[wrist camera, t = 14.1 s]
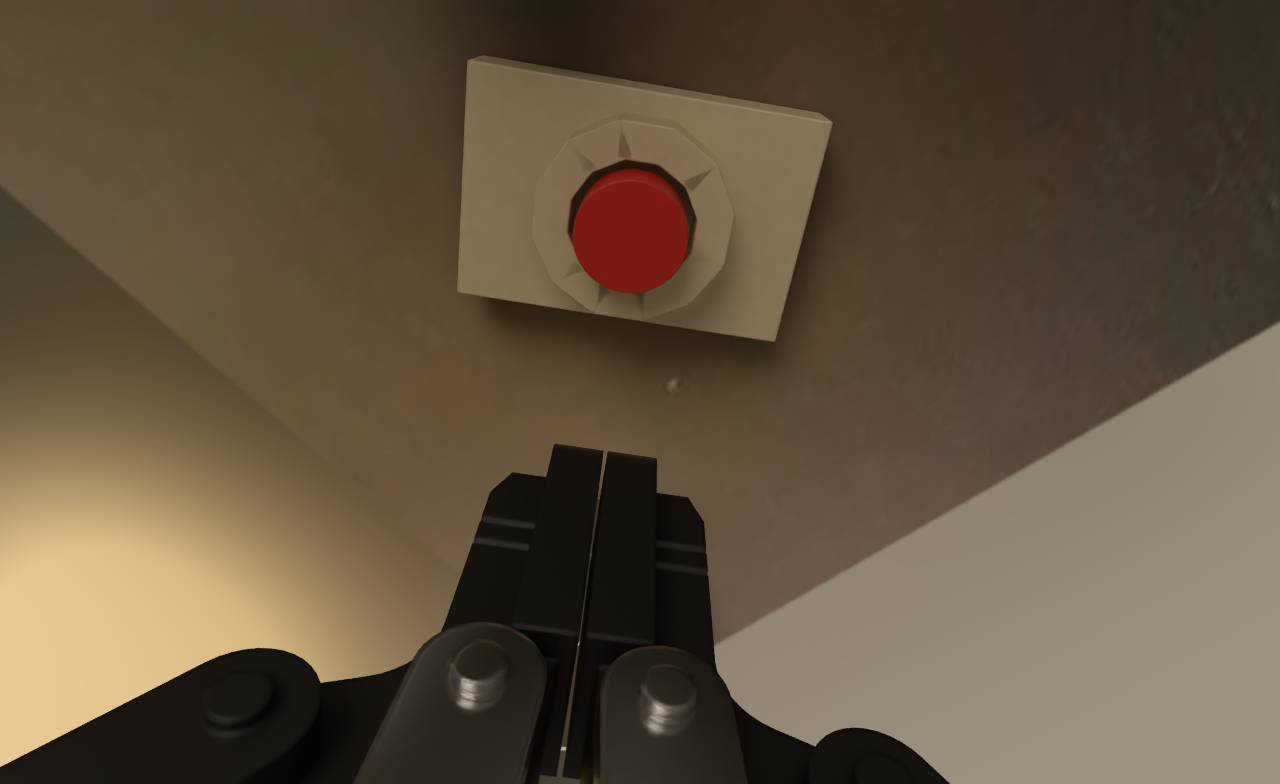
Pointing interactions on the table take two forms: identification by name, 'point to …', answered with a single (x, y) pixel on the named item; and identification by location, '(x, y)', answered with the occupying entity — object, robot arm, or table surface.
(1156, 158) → the table surface
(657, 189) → the release button
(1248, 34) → the table surface
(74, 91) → the table surface
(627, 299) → the box
